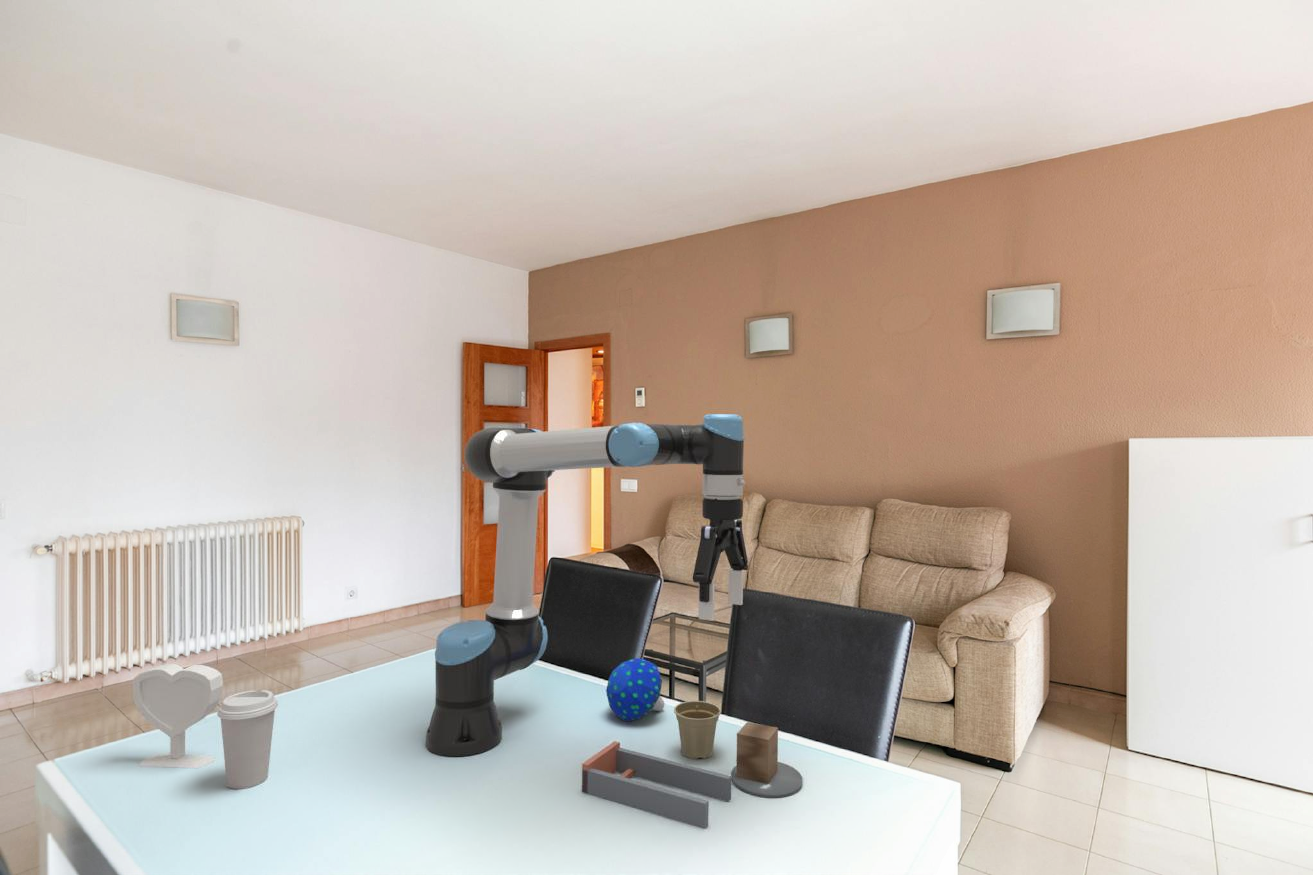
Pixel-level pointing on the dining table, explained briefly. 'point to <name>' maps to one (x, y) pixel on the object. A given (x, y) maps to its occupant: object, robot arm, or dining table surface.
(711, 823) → the dining table surface
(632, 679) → the mushroom
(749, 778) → the block
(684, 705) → the flower pot
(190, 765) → the heart sculpture
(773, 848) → the dining table surface
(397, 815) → the dining table surface
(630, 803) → the channel
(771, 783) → the coaster
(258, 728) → the coffee cup
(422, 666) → the dining table surface
